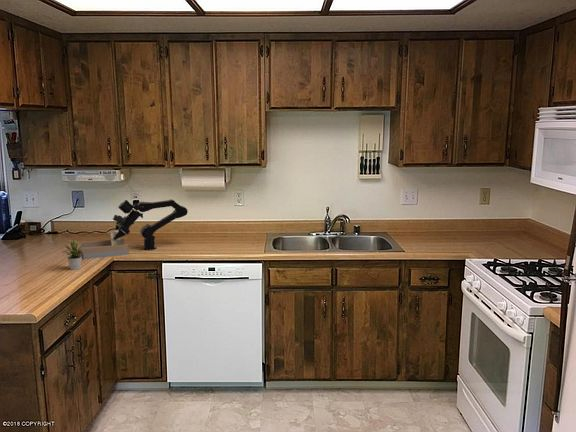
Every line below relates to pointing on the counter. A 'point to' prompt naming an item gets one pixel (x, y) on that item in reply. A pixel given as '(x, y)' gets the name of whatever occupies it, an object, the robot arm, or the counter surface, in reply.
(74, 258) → the house plant
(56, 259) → the counter surface
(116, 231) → the block
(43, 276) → the counter surface
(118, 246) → the channel
